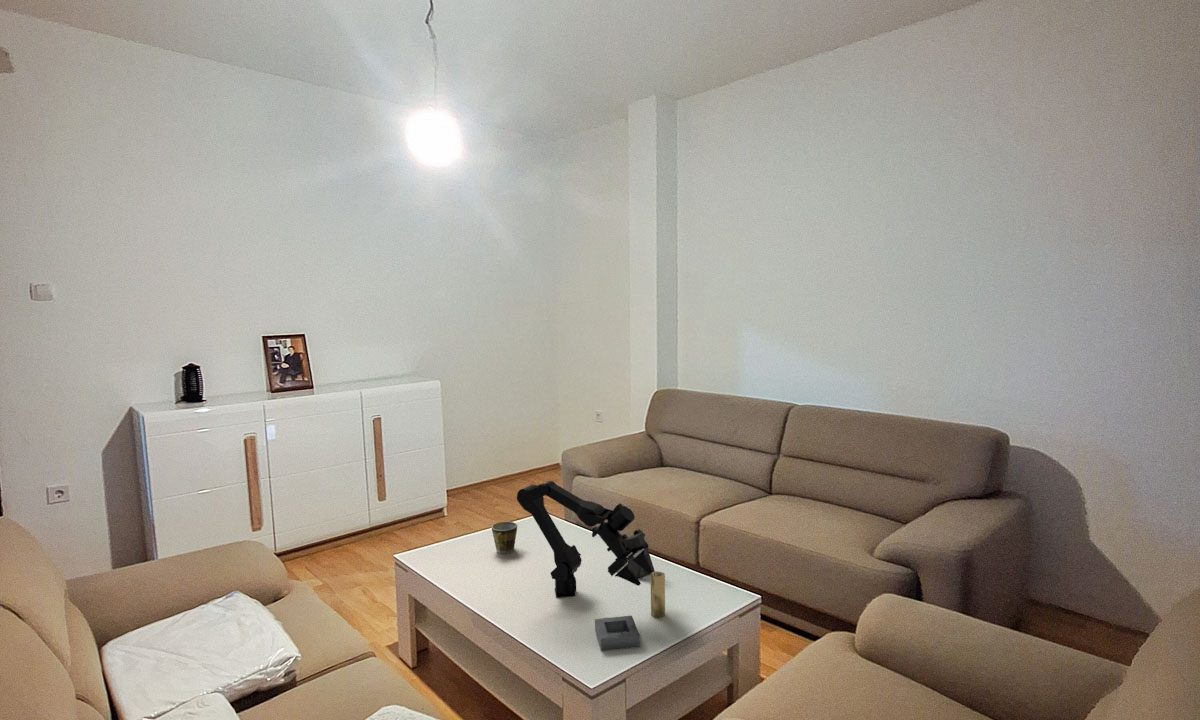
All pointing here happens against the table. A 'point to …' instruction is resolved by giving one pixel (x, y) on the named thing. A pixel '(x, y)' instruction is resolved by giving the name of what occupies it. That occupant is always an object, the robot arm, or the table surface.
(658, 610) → the brass sleeve
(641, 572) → the phone stand
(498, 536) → the ceramic cup
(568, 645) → the table surface
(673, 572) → the table surface
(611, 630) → the jig block
